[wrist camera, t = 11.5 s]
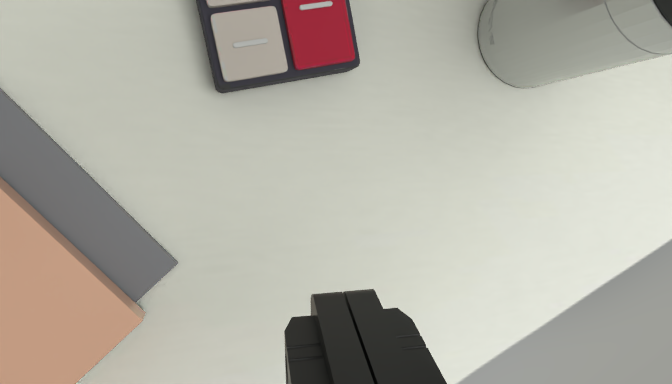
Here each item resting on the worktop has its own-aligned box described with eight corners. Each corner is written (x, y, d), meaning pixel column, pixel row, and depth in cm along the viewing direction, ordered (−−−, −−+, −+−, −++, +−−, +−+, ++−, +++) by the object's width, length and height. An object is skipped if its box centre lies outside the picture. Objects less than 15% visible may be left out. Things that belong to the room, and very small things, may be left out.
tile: (142, 320, 36) (-30, 160, 33) (26, 429, 34) (-167, 272, 31) (146, 311, 38) (-14, 161, 35) (37, 412, 37) (-141, 264, 34)
